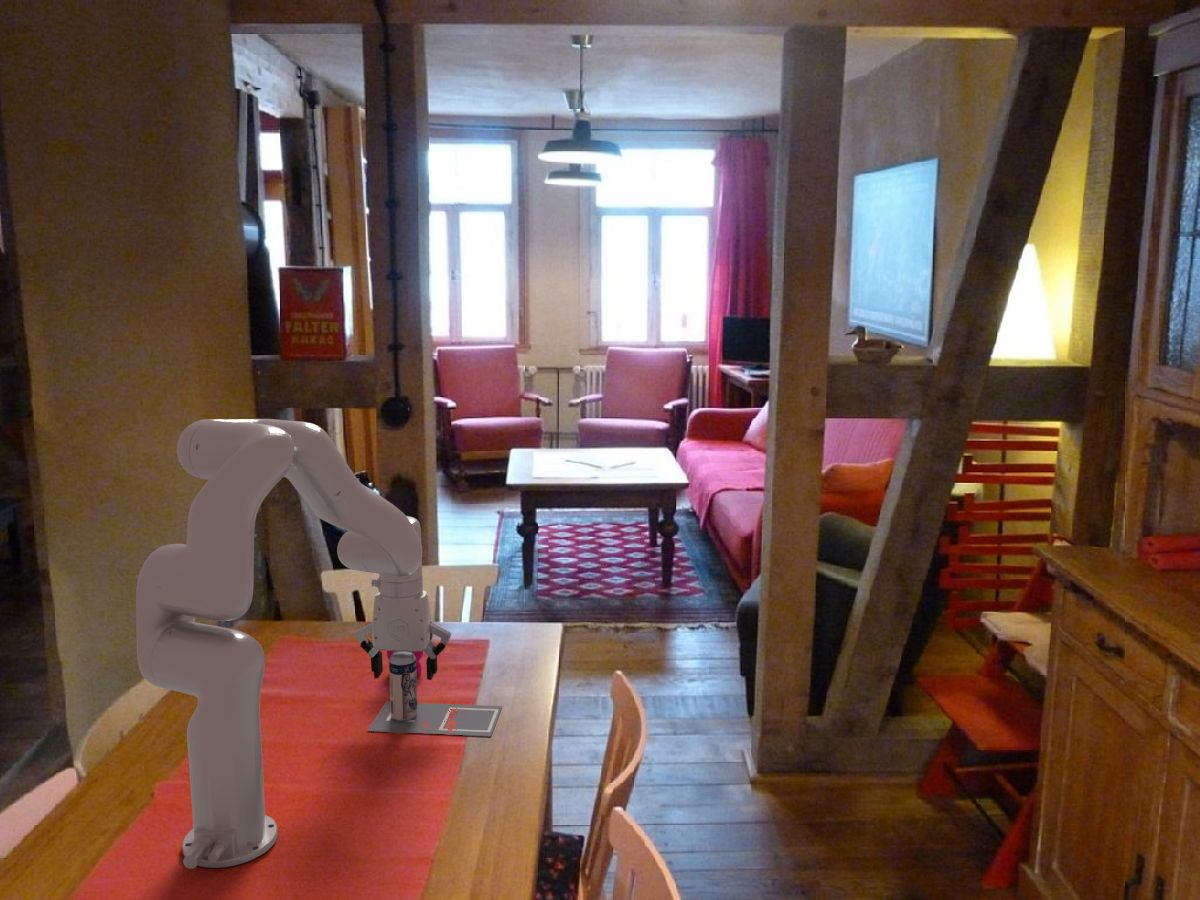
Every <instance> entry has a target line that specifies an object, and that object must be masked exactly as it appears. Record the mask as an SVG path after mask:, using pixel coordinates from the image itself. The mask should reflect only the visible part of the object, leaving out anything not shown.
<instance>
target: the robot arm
mask: <svg viewBox="0 0 1200 900" xmlns="http://www.w3.org/2000/svg"><path fill="white" fill-rule="evenodd" d="M176 455H177V458H178V462H179V464H180V466H181V467H182V468H183V469H184V470H185V472H186V473H187V474H189V475H191V476H193V477H195V478H198V479H202V480H207V481H206V483H205V484H204V485H203V486H202V487H201V489H200V490H199V491H198V492H197V493H196V496H195V498H194V499H193V500H192V503H191V505H190V508H189V511H188V516H187V526H186V527H187V528H186V529H187V531H186V532H187V533H186V544H185V543H169V544H165V545H162V546H160V547H158V548H157V549H154V550H153V552H151V553H150V554H149V555H148V556H147V558H146V559H145V561H144V562H143V565H142V566H141V568H140V571H139V574H138V576H137V582H136V595H135V596H136V597H135V598H136V599H135V601H136V603H135V606H136V607H135V611H136V612H135V613H136V615H135V616H136V618H135V619H136V620H135V621H136V622H135V623H136V627H135V628H136V632H135V633H136V658H137V659H136V660H137V665H138V669H139V671H140V673H141V676H142V677H143V678H144V679H145V680H146V681H147V682H148V683H150V684H151V685H153V686H154V687H155V686H156V687H158V688H162V689H166V690H170V691H174V692H179V693H183V694H187V695H189V696H194V697H196V699H197V706H196V707H195V708H196V709H194V712H193V714H192V715H191V717H190V719H189V721H188V723H187V729H186V738H187V739H186V743H187V757H188V766H189V767H188V768H189V782H190V785H189V787H190V800H191V813H192V829H190V831H188V832H187V834H185V837H184V839H183V840H182V845H181V846H182V854H183V856H184V858H183V859H182V861H183V865H184V867H185V868H187V869H190V870H192V869H195V868H196V867H197V866H199V867H203V868H213V869H214V868H215V869H219V868H229V867H233V866H234V867H235V866H238V865H242V864H245V863H247V862H250V861H253V860H255V859H256V858H258V857H260V856H262V855H264V854H265V853H266V852H267V851H269V850H270V849H271V848H272V847H273V845H274V844H275V843H276V842H277V839H278V825H277V823H276V821H275V820H274V818H272V817H271V816H268V815H266V805H265V803H266V801H265V789H264V788H265V785H264V769H263V768H264V766H263V752H262V751H263V750H262V749H263V747H262V733H261V732H262V731H261V730H262V729H261V693H262V685H263V679H264V674H265V667H266V666H265V665H266V657H265V652H264V649H263V647H262V646H261V644H260V642H258V640H257V639H255V638H254V636H252V635H250V634H248V633H246V632H244V631H241V630H237V629H233V628H228V627H223V626H219V625H213V624H207V623H200V622H196V618H197V619H203V620H210V621H218V622H220V621H221V622H226V621H229V622H230V621H233V620H234V621H235V620H237V619H239V618H242V617H243V616H244V615H245V614H246V613H247V612H248V611H249V609H250V606H251V604H252V602H253V595H254V579H255V577H254V576H255V575H254V573H255V571H254V570H255V569H254V568H255V566H254V565H255V530H256V529H255V525H256V519H257V514H258V511H259V509H260V507H261V505H262V503H263V501H264V500H265V499H266V497H267V495H268V494H269V493H270V492H271V490H273V488H274V487H275V486H276V485H277V484H278V483H279V482H280V481H281V480H282V479H283V478H286V479H287V480H288V481H289V482H290V483H291V484H292V486H293V487H294V489H295V490H296V491H297V492H298V494H299V495H300V497H301V498H302V499H303V501H304V502H305V503H306V505H307V506H308V508H309V509H310V510H311V512H313V514H314V515H315V516H316V517H317V518H318V519H320V520H322V521H324V522H326V523H328V524H330V525H332V526H335V528H336V527H337V528H339V529H342V530H345V531H346V532H345V533H344V534H343V535H342V536H341V537H340V539H339V541H338V543H337V548H336V553H337V557H338V560H339V561H340V563H341V564H342V565H343V566H345V567H346V568H348V569H351V570H354V571H358V572H363V573H369V574H370V573H371V574H378V577H377V578H371V587H375V588H377V589H378V592H376V594H374V595H375V596H374V599H373V600H374V602H373V610H372V621H371V623H369V624H367V625H365V626H362V627H361V628H358V629H357V630H356V631H355V633H354V636H355V638H356V640H357V641H358V642H359V644H360V648H361V649H363V650H364V651H365V652H366V653H367V655H368V657H369V658H370V668H371V669H370V670H371V671H370V672H372V673H373V678H374V679H379V678H380V676H381V675H382V673H383V672H384V667H383V664H384V663H383V652H382V651H387V650H388V651H422V650H423V653H425V654H426V656H427V658H426V661H425V662H426V680H428V681H432V679H433V677H434V676H435V675H436V674H437V673H438V656H439V655H440V654H441V652H443V651H444V650H445V648H446V646H447V645H448V642H449V641H450V639H451V637H452V632H451V631H449V630H446V629H444V628H443V627H441V626H439V625H437V624H435V623H433V621H432V611H431V607H430V601H429V599H428V597H429V596H428V594H427V591H426V590H424V588H423V587H424V586H423V585H424V584H423V581H424V580H423V553H424V552H423V545H422V528H421V524H420V521H419V520H418V519H417V518H415V517H412V516H409V515H406V514H405V513H404V512H403V511H402V510H400V508H398V507H397V506H396V505H394V504H393V503H391V502H390V501H388V500H387V499H385V498H384V497H382V496H381V495H380V494H378V493H377V492H375V491H374V490H372V489H371V488H369V487H368V486H366V485H365V484H363V483H361V481H359V479H358V478H357V476H356V475H355V473H354V472H353V470H352V469H351V468H350V466H349V465H348V462H346V460H345V458H344V457H343V455H342V453H341V452H340V451H339V449H338V448H337V446H336V445H335V443H334V441H333V439H331V437H330V435H329V434H328V433H327V432H326V431H325V430H324V429H323V428H322V427H321V426H319V425H316V424H315V423H312V422H306V421H298V420H287V419H284V420H283V419H277V418H276V419H273V418H248V419H222V418H221V419H220V418H219V419H207V418H206V419H199V420H197V421H194V422H193V423H190V424H189V425H188V426H187V427H185V429H184V430H183V431H182V433H180V435H179V438H178V439H177V445H176ZM370 633H371V640H370V639H368V637H367V635H369V634H370ZM433 635H435V636H436V637H438V638H440V639H441V640H440V641H439V643H438V644H437V645H436V644H435V643H434V642H433V640H432V639H433Z"/></svg>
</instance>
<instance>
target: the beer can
mask: <svg viewBox="0 0 1200 900" xmlns="http://www.w3.org/2000/svg"><path fill="white" fill-rule="evenodd" d="M388 671H389V673H388V675H389V676H388V677H389V702H390V713H391V717H392V718H393V719H395V720H397V721H408V720H411V719H412V718H414V717H415V716H416V715H417V703H418V686H417V685H418V684H417V682H418V681H417V680H418V678H417V677H418V676H416V657H415V656H414V654H413V652H412V651H396V652H394V653H393V654H391V657H390V659H388Z"/></svg>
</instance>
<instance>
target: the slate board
mask: <svg viewBox="0 0 1200 900" xmlns="http://www.w3.org/2000/svg"><path fill="white" fill-rule="evenodd" d="M456 708H457V709H456ZM450 709H456V710H457V711H456V712H457V713H458V715H457V714H456V713H454V712H453V711H451V710H450ZM458 709H459V710H460V711H459V710H458ZM502 709H503V706H501V705H481V704H478V705H477V704H458V703H457V704H453V703H451V704H450V703H435V702H434V703H433V702H432V703H431V702H430V703H428V702H417V715H416V716H415V717H414V718H412V719H411V720H408V721H397V720H395V719H393V718H392V717H391V713H390V701H385V703H384V704H383V706H382V708H380V710H379V712H378V713H379V714H378V713H377V715H378V716H377V715H376V716H375V718H374V720H373V721H372V722H371V724H370V726H369V727H368V729H369V730H368V729H367V730H366V731H372V732H371V733H381V732H388V733H387V734H405V733H423V732H425V733H426V734H425V733H424V734H423V735H429V734H450V735H449V736H453V735H463V736H462V737H481V738H484V737H485V738H491V737H492V735H493V732H494V730H495V727H496V726H497V725H496V724H497V721H498V720H499V717H500V714H501V711H502ZM381 710H382V711H381ZM384 710H385V711H384ZM386 710H387V711H386ZM448 710H449V711H450V712H452V713H453V714H454V715H453V719H454V720H455V722H457V724H456V726H455V727H453V729H452V731H453V732H454V733H453V732H451V731H450V730H449V731H448V729H447V728H445V727H444V726H446V725H448V726H450V725H449V724H447V723H448V721H447V720H449V719H448V717H449V716H450V715H449V714H450V712H449V711H448ZM464 710H465V711H466V712H467V713H466V712H465V711H464ZM446 711H447V712H446ZM456 716H457V717H456ZM449 718H450V717H449ZM450 719H451V718H450ZM453 719H452V720H453ZM422 720H423V721H422ZM454 720H453V721H454ZM420 721H421V722H420ZM424 721H425V722H426V723H428V722H430V724H429V723H428V724H429V727H426V726H425V725H427V724H426V723H425V722H424ZM444 721H445V722H444ZM449 721H450V722H452V721H451V720H449ZM446 722H447V723H446ZM423 723H424V724H425V725H424V724H423ZM452 723H453V722H452ZM463 723H464V724H463ZM445 724H446V725H445ZM454 724H455V723H454ZM465 724H466V725H465ZM422 725H423V726H425V727H426V728H424V727H423V726H422ZM451 725H452V724H451ZM462 725H463V726H462ZM420 726H421V727H422V728H421V727H420ZM427 726H428V725H427ZM448 726H446V727H448ZM453 726H454V725H453ZM434 727H435V728H434ZM438 727H439V728H438ZM451 727H452V726H451ZM457 727H458V728H457ZM436 728H437V729H436ZM448 728H449V727H448ZM450 729H451V728H450ZM456 729H457V730H456ZM431 730H432V731H431ZM373 731H374V732H373ZM429 731H430V732H429ZM443 731H444V732H443ZM447 731H448V732H447ZM455 731H456V732H455ZM441 732H442V733H441ZM445 732H446V733H445ZM449 732H451V733H449ZM452 734H453V735H452Z"/></svg>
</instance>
